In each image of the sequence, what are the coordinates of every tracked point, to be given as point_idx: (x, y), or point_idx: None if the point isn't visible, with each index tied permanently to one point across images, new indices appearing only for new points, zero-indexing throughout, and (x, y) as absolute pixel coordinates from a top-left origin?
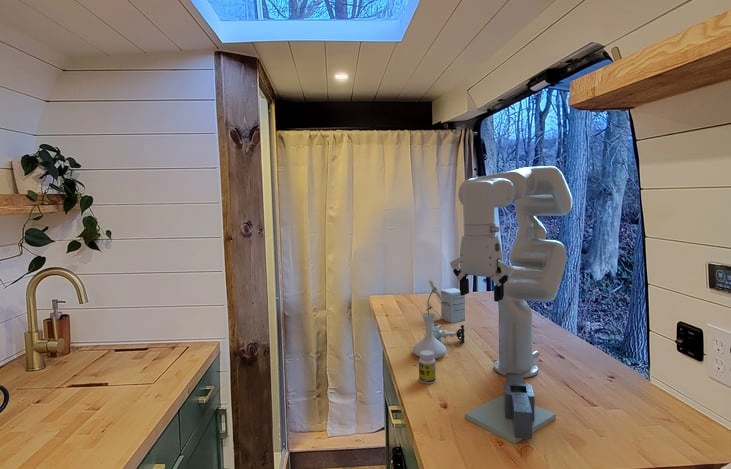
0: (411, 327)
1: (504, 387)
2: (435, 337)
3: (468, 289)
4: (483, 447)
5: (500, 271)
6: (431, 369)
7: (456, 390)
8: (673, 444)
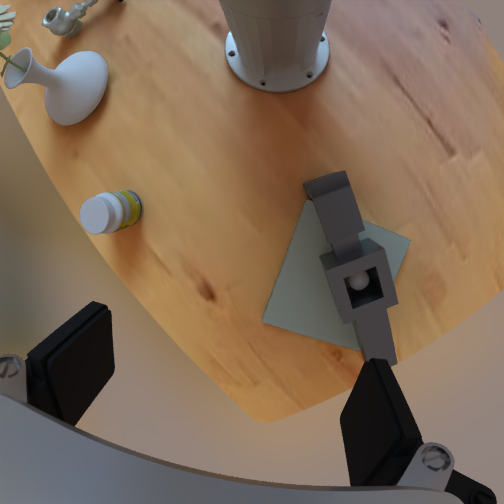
0: (22, 14)
1: (334, 296)
2: (66, 32)
3: (97, 326)
4: (317, 375)
5: (441, 500)
6: (127, 221)
7: (199, 218)
8: None
